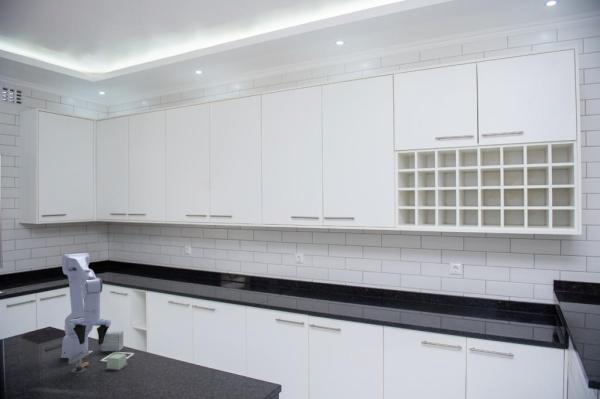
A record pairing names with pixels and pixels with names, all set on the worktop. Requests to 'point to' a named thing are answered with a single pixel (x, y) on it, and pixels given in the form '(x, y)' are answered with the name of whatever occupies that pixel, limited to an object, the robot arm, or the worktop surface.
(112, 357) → the cover
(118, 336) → the medicine box
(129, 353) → the tray
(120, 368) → the lock plate
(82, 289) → the robot arm
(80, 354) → the tee key
